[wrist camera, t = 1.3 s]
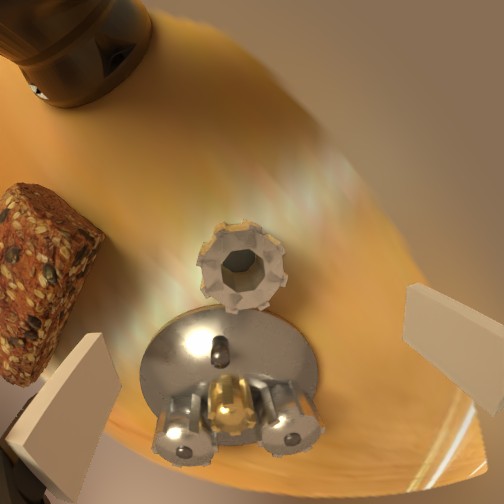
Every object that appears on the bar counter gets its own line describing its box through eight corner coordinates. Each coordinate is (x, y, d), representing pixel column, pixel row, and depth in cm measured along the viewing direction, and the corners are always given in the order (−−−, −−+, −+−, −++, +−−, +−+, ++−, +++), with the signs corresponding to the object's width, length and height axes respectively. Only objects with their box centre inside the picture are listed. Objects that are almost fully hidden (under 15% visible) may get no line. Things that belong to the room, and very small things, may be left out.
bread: (57, 358, 27) (19, 403, 17) (1, 307, 25) (-45, 335, 15) (116, 234, 25) (66, 253, 15) (48, 179, 23) (-13, 175, 13)
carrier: (120, 314, 26) (93, 350, 19) (312, 289, 28) (342, 318, 21) (169, 443, 30) (163, 485, 23) (314, 424, 32) (332, 464, 24)
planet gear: (197, 225, 26) (190, 232, 20) (269, 216, 26) (283, 220, 20) (208, 294, 27) (205, 318, 21) (276, 284, 28) (291, 305, 22)
